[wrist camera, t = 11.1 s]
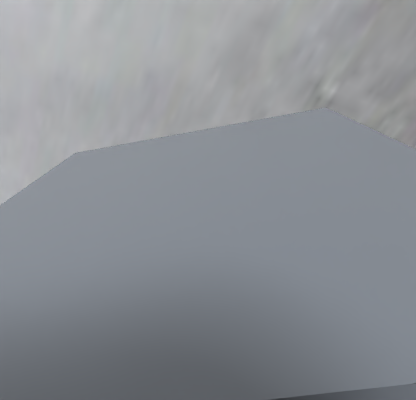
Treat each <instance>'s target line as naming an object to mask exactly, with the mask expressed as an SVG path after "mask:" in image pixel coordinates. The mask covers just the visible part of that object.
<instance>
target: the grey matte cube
mask: <svg viewBox="0 0 416 400" xmlns="http://www.w3.org/2000/svg"><path fill="white" fill-rule="evenodd" d="M0 400H416V149H414V148H412V147H410V146H408V145H406V144H404V143H401V142H399V141H397V140H395V139H393V138H391V137H388V136H386V135H384V134H382V133H380V132H378V131H376V130H373V129H371V128H369V127H367V126H365V125H363V124H361V123H358V122H356V121H354V120H352V119H350V118H348V117H345V116H343V115H341V114H339V113H337V112H335V111H333V110H330V109H328V108H321V109H316V110H310V111H305V112H299V113H294V114H288V115H282V116H277V117H271V118H266V119H260V120H255V121H249V122H244V123H238V124H233V125H227V126H222V127H216V128H211V129H205V130H200V131H194V132H189V133H183V134H178V135H172V136H167V137H161V138H156V139H150V140H145V141H139V142H133V143H128V144H122V145H117V146H111V147H106V148H100V149H95V150H89V151H84V152H78V153H75V154H73V155H72V156H70V157H69V158H67V159H66V160H64V161H63V162H62V163H60V164H59V165H57V166H56V167H54V168H53V169H52V170H50V171H49V172H47V173H46V174H44V175H43V176H42V177H40V178H39V179H37V180H36V181H34V182H33V183H31V184H30V185H29V186H27V187H26V188H24V189H23V190H21V191H20V192H19V193H17V194H16V195H14V196H13V197H11V198H10V199H9V200H7V201H6V202H4V203H3V204H1V205H0Z"/></svg>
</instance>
